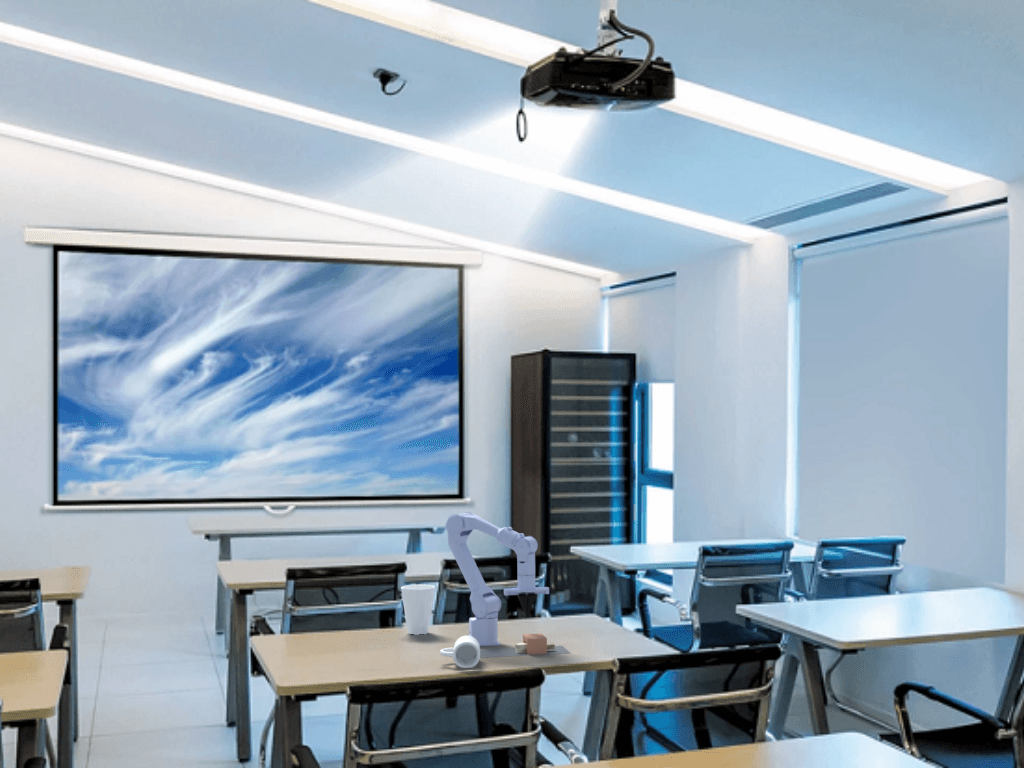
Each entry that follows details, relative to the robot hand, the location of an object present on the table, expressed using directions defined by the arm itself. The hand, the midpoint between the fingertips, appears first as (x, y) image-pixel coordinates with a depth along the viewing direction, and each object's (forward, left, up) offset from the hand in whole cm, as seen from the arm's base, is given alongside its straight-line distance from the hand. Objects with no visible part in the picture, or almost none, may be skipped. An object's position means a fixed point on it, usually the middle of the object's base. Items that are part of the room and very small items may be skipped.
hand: (526, 617), depth 339 cm
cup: (-32, +34, -10) cm, 47 cm away
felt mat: (-5, -6, -10) cm, 13 cm away
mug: (-25, -19, -10) cm, 33 cm away
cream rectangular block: (+1, -7, -10) cm, 12 cm away
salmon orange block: (+1, -7, -10) cm, 12 cm away
